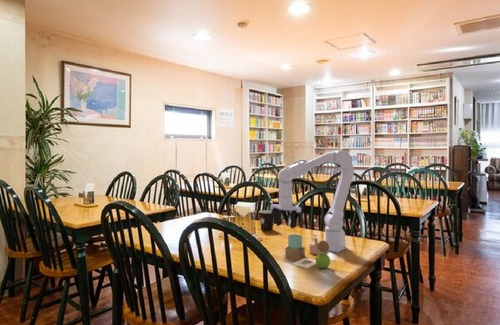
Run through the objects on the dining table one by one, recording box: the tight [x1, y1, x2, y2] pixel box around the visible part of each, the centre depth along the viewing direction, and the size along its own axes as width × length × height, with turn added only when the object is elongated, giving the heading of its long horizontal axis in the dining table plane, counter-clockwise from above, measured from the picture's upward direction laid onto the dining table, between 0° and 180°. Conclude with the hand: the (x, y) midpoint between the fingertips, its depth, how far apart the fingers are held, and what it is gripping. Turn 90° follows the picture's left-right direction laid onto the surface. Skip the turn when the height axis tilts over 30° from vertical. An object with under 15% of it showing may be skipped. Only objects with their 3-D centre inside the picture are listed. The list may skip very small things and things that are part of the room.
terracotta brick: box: [309, 241, 320, 255], centre depth 147 cm, size 4×4×4 cm
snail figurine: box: [313, 234, 331, 269], centre depth 128 cm, size 5×6×12 cm
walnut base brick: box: [284, 245, 306, 261], centre depth 142 cm, size 6×6×4 cm
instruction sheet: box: [292, 257, 317, 269], centre depth 133 cm, size 9×7×1 cm
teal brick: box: [287, 233, 303, 250], centre depth 141 cm, size 4×4×5 cm
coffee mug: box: [258, 209, 276, 232], centre depth 187 cm, size 12×9×10 cm
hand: (285, 226), depth 150 cm, fingers open, 7 cm apart
